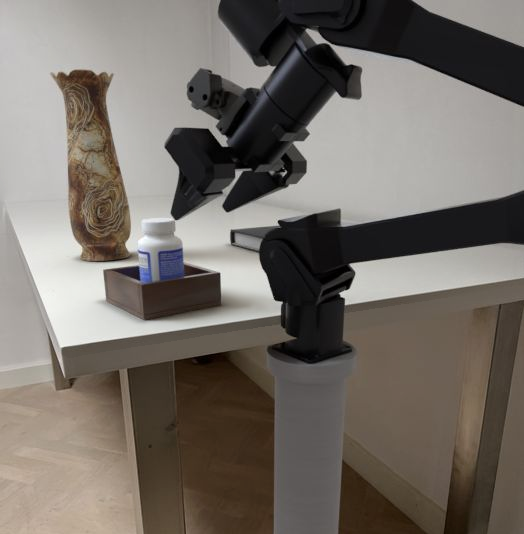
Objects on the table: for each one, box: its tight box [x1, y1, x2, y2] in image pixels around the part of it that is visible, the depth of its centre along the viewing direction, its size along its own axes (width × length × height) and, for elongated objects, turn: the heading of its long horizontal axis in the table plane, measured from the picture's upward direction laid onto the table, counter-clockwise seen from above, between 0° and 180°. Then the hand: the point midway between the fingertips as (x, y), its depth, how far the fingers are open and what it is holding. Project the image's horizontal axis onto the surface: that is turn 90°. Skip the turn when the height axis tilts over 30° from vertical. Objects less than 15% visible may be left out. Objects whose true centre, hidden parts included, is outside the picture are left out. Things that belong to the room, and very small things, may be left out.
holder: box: [102, 261, 222, 321], centre depth 69 cm, size 11×11×4 cm
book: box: [229, 224, 280, 253], centre depth 112 cm, size 22×15×3 cm
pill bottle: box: [137, 217, 185, 283], centre depth 68 cm, size 5×5×10 cm
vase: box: [49, 68, 132, 262], centre depth 95 cm, size 10×11×30 cm
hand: (200, 213), depth 62 cm, fingers open, 9 cm apart
